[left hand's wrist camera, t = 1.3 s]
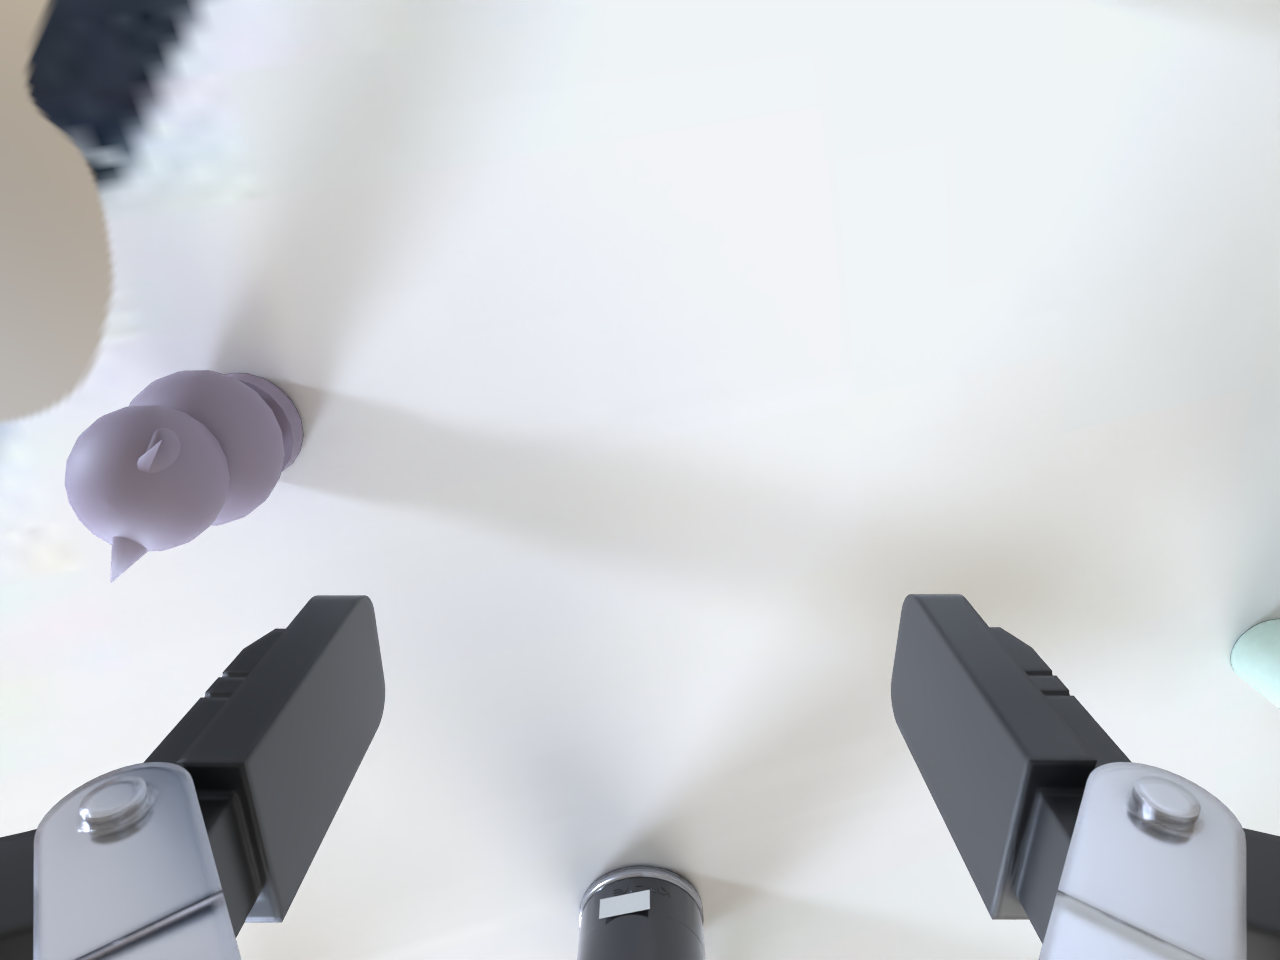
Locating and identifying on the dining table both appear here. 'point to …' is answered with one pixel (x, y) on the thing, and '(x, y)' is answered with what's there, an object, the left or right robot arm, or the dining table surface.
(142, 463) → the cat figurine
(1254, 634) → the bottle
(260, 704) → the left robot arm
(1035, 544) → the dining table surface
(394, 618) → the dining table surface
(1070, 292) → the dining table surface
